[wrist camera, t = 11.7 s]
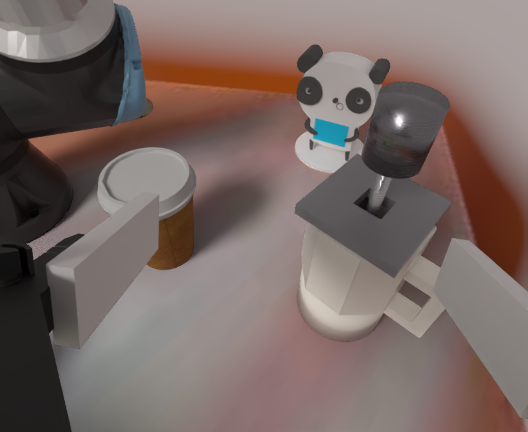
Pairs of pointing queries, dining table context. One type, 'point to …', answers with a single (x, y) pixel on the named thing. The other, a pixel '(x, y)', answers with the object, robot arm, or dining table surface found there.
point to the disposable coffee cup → (170, 197)
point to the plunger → (401, 134)
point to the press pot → (366, 254)
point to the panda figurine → (335, 105)
